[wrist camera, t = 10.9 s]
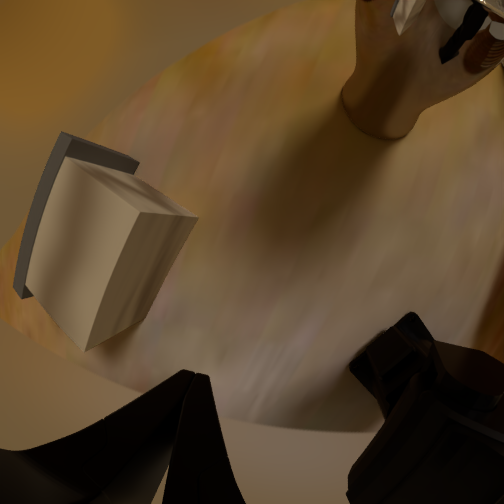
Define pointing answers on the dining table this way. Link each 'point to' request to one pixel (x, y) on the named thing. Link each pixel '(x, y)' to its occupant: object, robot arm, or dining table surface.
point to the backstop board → (62, 148)
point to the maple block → (103, 250)
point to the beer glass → (418, 58)
